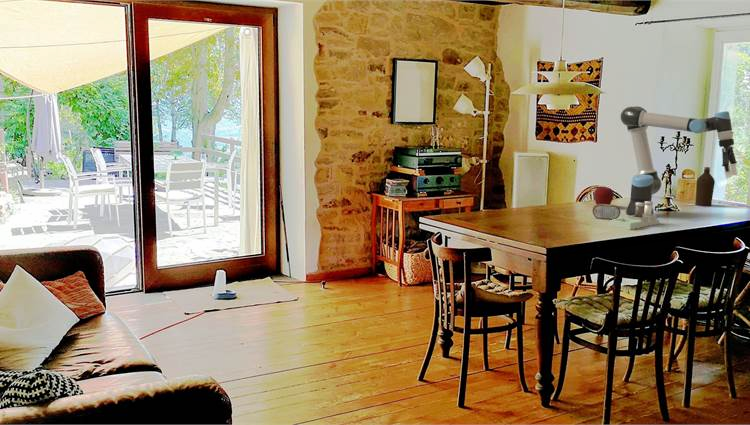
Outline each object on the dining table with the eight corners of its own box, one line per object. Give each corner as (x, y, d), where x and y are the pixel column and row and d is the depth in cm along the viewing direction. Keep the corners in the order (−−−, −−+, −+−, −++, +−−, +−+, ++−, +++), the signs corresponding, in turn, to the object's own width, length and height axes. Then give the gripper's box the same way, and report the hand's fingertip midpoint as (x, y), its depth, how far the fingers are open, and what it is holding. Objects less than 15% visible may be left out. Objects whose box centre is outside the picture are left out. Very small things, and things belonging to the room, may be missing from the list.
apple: (604, 209, 423) (606, 187, 421) (589, 206, 432) (590, 185, 430) (616, 207, 430) (618, 186, 428) (600, 204, 439) (602, 184, 437)
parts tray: (609, 226, 368) (610, 219, 367) (622, 223, 375) (622, 217, 374) (629, 229, 358) (630, 223, 358) (642, 227, 366) (643, 221, 365)
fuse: (641, 219, 379) (643, 201, 377) (645, 218, 382) (647, 200, 380) (648, 220, 376) (650, 202, 374) (652, 219, 378) (654, 201, 377)
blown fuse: (632, 220, 374) (634, 202, 372) (636, 220, 376) (638, 202, 374) (639, 222, 370) (641, 203, 369) (643, 221, 373) (645, 203, 371)
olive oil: (714, 207, 440) (718, 168, 436) (696, 206, 442) (700, 167, 437) (709, 204, 450) (713, 166, 446) (692, 203, 452) (696, 166, 448)
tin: (619, 219, 389) (620, 204, 387) (619, 220, 386) (621, 205, 384) (591, 217, 393) (593, 203, 391) (592, 218, 390) (593, 204, 388)
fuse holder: (625, 223, 375) (626, 215, 374) (642, 220, 385) (643, 212, 385) (642, 226, 367) (642, 218, 367) (659, 223, 378) (659, 215, 377)
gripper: (727, 138, 372) (733, 177, 372) (738, 136, 391) (743, 173, 391) (712, 141, 377) (718, 179, 377) (724, 139, 395) (729, 175, 396)
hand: (731, 176), depth 384 cm, fingers open, 13 cm apart
